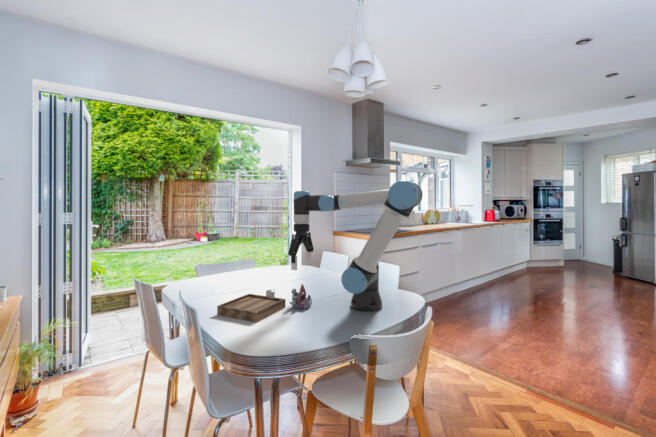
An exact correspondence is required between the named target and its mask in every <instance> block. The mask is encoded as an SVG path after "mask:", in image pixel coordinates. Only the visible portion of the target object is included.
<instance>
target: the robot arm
mask: <svg viewBox="0 0 656 437" xmlns="http://www.w3.org/2000/svg"><path fill="white" fill-rule="evenodd" d="M422 200H423V190H422V188H421V187H420V185H419V184H417V183H416V182H413V181H411V180H408V179H401V180H397V181H395V182H394V183H393V184H391V186H390V187H389V189H380V190H371V191H363V192H362V191H361V192H353V193H344V194H335V195H330V194H329V195H328V194H313V195H312V194H310V192H309V190H296V191H294V193H293V223H294V224H293V232H295V234H291V241H290V245H289V247H288V248H289V249H288V256H289V257H290V259H291V260H290V265H291V266H290V267H291V269H290V270H293V271H298V255H297V254H298V251H299V249H300V247H301V245H302V244H303V246H304V248H305V250H306V251H305V266H311V265H312V253H313V252H314V248H315V247H314V245H313V240H312V236H311V232H310V212H334V211H343V210H353V209H354V210H355V209H367V208H376V207H378V208H379V207H384V210H383V212H382V213H381V216H380V217H379V219H378V221H377V222H376V225H375V227H374V228H373V230H372V232H371V233H370V235H369V237H368V239H367V241H366V242H365V244H364V246H363V248H362V250H361V251H360V254H359V255H358V256H355V257H354V258H353V259H352V260H351V263H350V264H349V266H348V268H346V269H345V270H344V271H343V273H342V274H341V278H340V281H341V284H342V286H343V289H345V291H347V292H348V293H350V294H352V297H351V301H350V307H352V309H354V310H358V311H364V312H372V311H379V310H381V309H382V308H383V300H382V298H381V295H380V294H381V293H380V292H379V291H380V290H379V288H380V287H379V282H380V280H379V278H380V276H379V274H380V273H379V272H380V264H379V262H380V260H381V258H382V256H383V255H384V253H385V251H386V249H387V248H388V246H389V244H390V242H391V241H392V239H393V237H394V235H395V234H396V232H397V230H398V229H399V227H400V225H401V223H402V222H403V221H404V219H408V218H409V217H410V215H411V214H412V212H413V210H414V208H416V207H417V206H419V205H420V203H421V201H422Z"/></svg>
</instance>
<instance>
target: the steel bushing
mask: <svg viewBox="0 0 656 437" xmlns="http://www.w3.org/2000/svg"><path fill="white" fill-rule="evenodd" d="M265 296H268V297H275V298H276V291H275V290H274V289H267V290H266V291H265Z"/></svg>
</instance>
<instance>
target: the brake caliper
mask: <svg viewBox="0 0 656 437" xmlns="http://www.w3.org/2000/svg"><path fill="white" fill-rule="evenodd" d="M304 286H305V285H304V284H301V285H300V288H299V291H297V288H291V289H292V290H291V294H292V295H291V301H289V304H290V305H291V306H292V307H294V308H295V309H296V310H302V309H304V310H307V309H309V308H310V307H311V306H312V305H313V300H312V297H311V295H310V294H308V295H307V291H306V288H305V287H304Z"/></svg>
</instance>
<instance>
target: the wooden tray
mask: <svg viewBox="0 0 656 437" xmlns="http://www.w3.org/2000/svg"><path fill="white" fill-rule="evenodd" d="M285 308H286V298H281V297H276V296H275V297H268V296H266V295H259V294H253V293H247V294H245V295H242V296H240V297H237V298H234V299H231V300H230V301H227V302H224V303H222V304H219V305H216V311H217V312H216V313H217V314H216V315H218V316H220V317H221V316H222V317H228V318H232V319H239V320H244V321H249V322H254V323H258V322H260V321H262V320H264V319H265V318H267V317H269V316H271V315H273V314H275V313H277V312H280V310H283V309H285Z"/></svg>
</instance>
